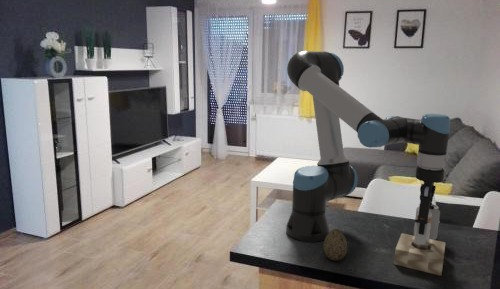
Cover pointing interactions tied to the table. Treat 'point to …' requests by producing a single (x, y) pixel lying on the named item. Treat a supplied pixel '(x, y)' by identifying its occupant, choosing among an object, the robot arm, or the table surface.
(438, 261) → the collar
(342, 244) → the decorative egg
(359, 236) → the table surface
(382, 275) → the table surface
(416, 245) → the tube
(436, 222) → the can
